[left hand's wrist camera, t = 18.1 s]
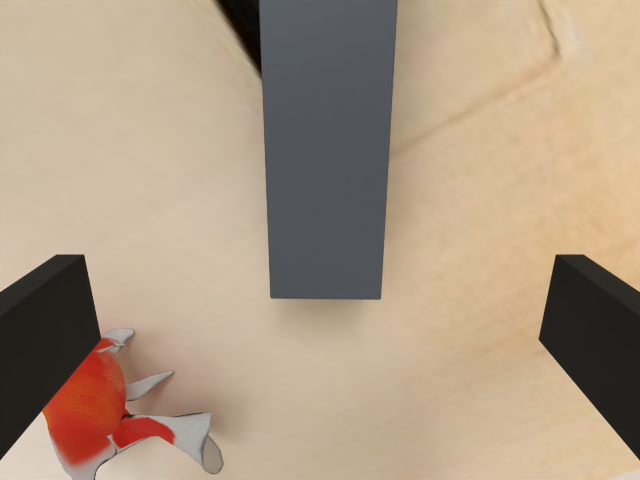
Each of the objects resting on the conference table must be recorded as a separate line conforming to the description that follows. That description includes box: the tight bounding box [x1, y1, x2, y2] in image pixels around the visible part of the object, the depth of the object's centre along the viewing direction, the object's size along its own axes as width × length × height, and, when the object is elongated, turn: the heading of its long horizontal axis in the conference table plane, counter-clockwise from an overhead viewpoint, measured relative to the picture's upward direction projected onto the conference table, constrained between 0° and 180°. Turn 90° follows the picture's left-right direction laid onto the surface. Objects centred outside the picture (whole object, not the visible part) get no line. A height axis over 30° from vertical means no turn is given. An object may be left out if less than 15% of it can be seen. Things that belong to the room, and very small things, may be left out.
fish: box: [42, 329, 224, 480], centre depth 29 cm, size 11×16×10 cm
